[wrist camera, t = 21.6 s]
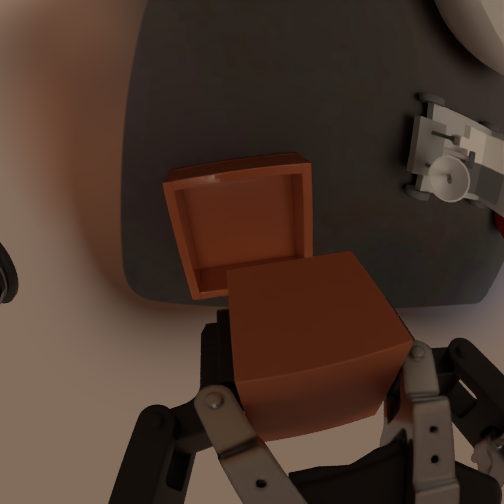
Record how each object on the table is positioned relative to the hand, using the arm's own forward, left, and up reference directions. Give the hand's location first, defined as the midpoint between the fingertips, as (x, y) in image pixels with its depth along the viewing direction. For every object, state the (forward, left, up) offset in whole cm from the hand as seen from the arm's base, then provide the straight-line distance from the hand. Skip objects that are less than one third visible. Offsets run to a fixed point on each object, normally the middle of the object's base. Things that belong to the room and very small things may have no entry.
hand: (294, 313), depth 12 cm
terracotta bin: (-1, -3, -17) cm, 17 cm away
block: (0, 0, 0) cm, 0 cm away
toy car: (+24, +3, -17) cm, 29 cm away
